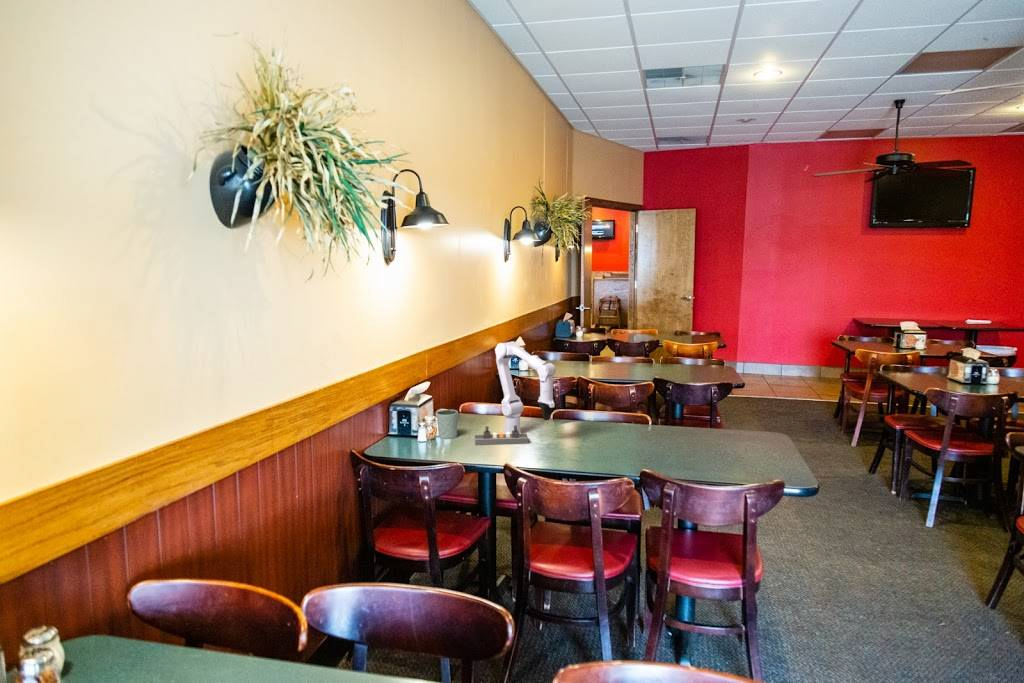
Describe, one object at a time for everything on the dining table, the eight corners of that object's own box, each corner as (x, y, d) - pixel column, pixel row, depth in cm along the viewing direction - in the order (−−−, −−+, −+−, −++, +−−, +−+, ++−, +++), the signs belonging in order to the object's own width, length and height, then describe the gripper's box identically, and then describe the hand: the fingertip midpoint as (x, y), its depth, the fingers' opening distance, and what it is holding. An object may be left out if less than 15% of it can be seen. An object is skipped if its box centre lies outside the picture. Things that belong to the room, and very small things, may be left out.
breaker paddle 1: (492, 436, 282) (492, 432, 282) (496, 436, 282) (496, 432, 282) (493, 437, 279) (493, 434, 279) (496, 437, 280) (496, 433, 279)
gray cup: (460, 434, 295) (459, 409, 293) (456, 440, 285) (455, 414, 283) (439, 433, 296) (438, 409, 294) (434, 439, 286) (434, 414, 284)
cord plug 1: (483, 436, 282) (483, 425, 281) (490, 436, 282) (490, 425, 281) (483, 438, 279) (483, 427, 278) (490, 438, 279) (490, 427, 278)
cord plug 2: (511, 435, 283) (511, 425, 282) (518, 435, 283) (518, 424, 283) (512, 437, 280) (512, 426, 279) (519, 437, 280) (519, 426, 280)
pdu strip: (474, 440, 284) (474, 434, 283) (526, 439, 286) (526, 433, 286) (475, 445, 277) (475, 439, 276) (528, 443, 279) (528, 437, 279)
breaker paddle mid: (499, 436, 282) (499, 432, 282) (502, 436, 282) (502, 432, 282) (499, 437, 280) (499, 433, 279) (503, 437, 280) (503, 433, 280)
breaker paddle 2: (505, 436, 282) (505, 432, 282) (509, 435, 283) (509, 432, 282) (506, 437, 280) (506, 433, 280) (509, 437, 280) (509, 433, 280)
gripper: (532, 387, 284) (532, 416, 286) (544, 394, 271) (543, 424, 272) (546, 386, 286) (546, 415, 288) (558, 393, 273) (558, 422, 275)
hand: (546, 419), depth 280 cm, fingers closed
